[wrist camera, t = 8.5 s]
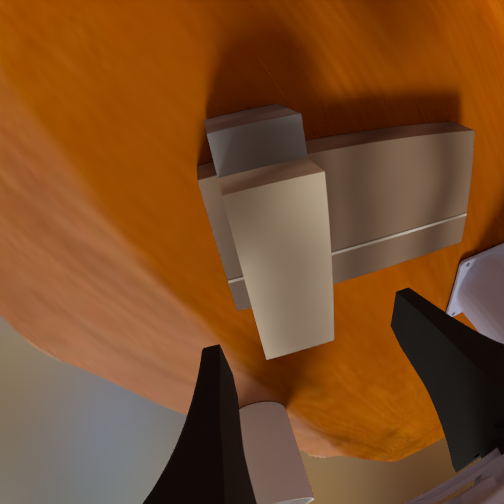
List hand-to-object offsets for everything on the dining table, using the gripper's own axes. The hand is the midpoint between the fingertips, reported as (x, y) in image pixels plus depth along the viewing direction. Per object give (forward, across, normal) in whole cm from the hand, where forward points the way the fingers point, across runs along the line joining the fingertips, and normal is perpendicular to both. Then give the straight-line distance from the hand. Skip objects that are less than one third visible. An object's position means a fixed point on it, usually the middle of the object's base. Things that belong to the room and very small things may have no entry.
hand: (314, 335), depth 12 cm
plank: (+10, -6, 0) cm, 11 cm away
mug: (+10, +6, +25) cm, 28 cm away
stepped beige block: (+9, 0, -1) cm, 9 cm away
